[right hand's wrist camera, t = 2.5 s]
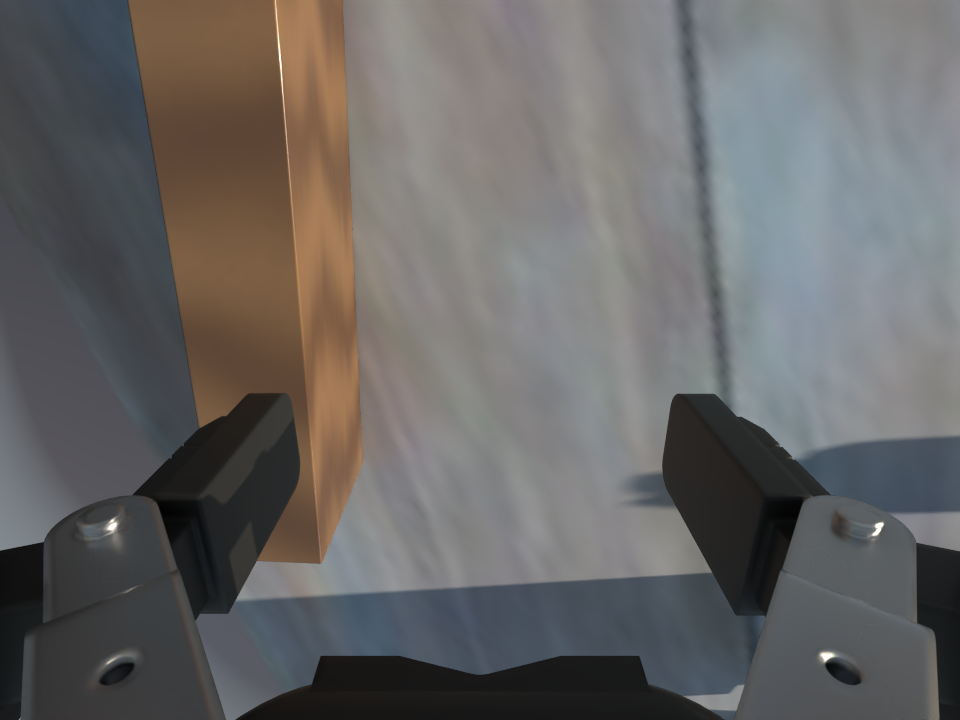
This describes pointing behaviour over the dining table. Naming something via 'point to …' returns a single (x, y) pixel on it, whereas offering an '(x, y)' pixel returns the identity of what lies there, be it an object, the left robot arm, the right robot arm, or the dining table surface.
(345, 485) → the post
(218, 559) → the right robot arm
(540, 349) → the dining table surface
